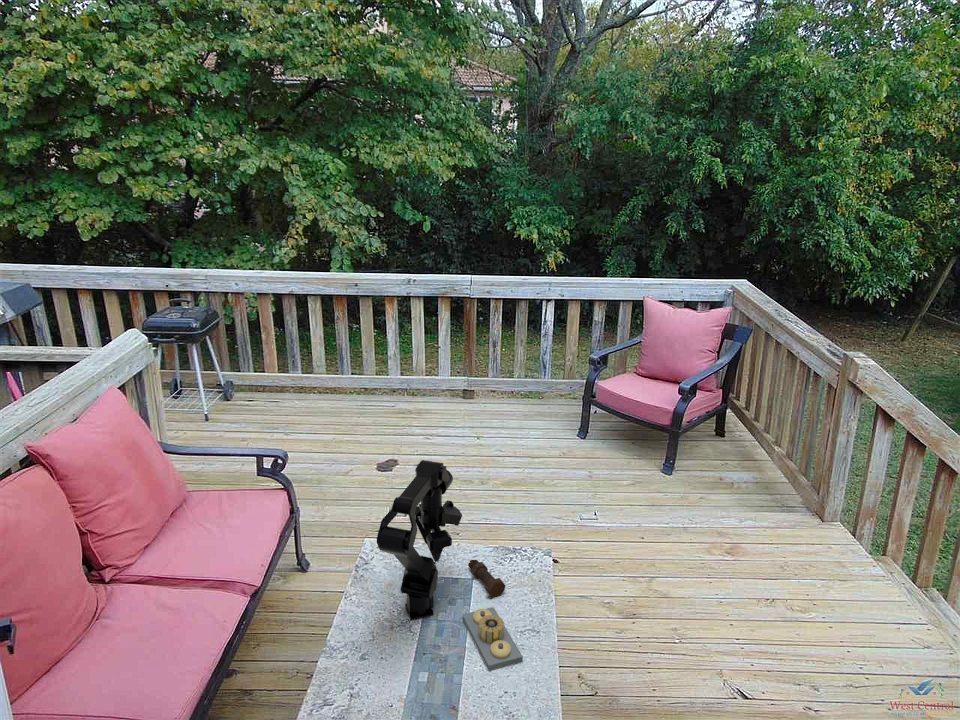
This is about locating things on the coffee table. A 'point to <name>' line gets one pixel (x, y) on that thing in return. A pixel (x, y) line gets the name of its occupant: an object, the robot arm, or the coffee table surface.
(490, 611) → the gear board
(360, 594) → the coffee table surface
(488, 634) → the brass gear
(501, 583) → the bolt
